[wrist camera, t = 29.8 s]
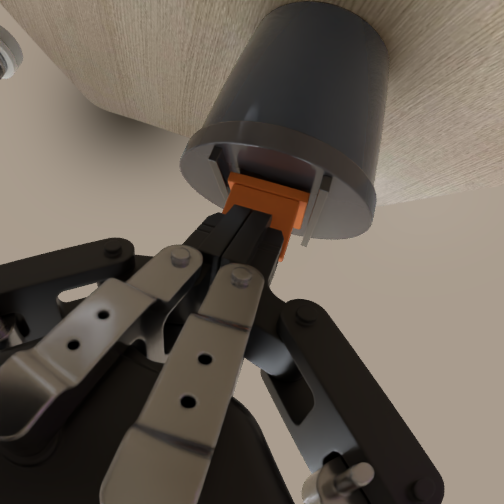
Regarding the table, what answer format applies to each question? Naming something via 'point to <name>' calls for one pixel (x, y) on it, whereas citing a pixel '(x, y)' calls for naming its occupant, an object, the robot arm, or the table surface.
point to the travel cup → (301, 117)
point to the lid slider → (269, 202)
